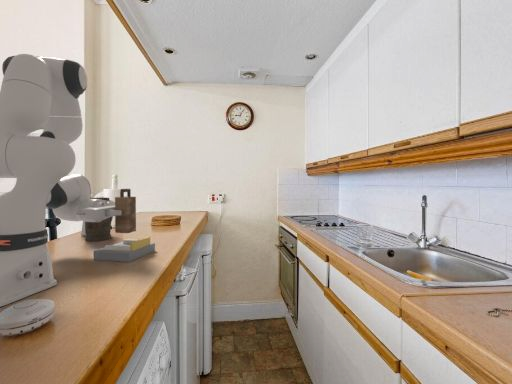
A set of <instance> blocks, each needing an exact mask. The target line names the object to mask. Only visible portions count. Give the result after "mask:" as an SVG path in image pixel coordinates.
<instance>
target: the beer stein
mask: <svg viewBox="0 0 512 384" xmlns="http://www.w3.org/2000/svg"><path fill="white" fill-rule="evenodd" d="M91 199H101V200H105V201H113V200H111V199H110V197H103V198H102V197H91ZM113 218H114V216H113V217H109V218H107V219H105V220H103V221H101V222H85V233H86V235H85V238H84V239H85V241H87V242H99V241H106V240H110V239H111V238H112V235H111V233H112V232H111V231H112V230H113V226H112V221H113Z"/></svg>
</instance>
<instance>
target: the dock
mask: <svg viewBox="0 0 512 384" xmlns="http://www.w3.org/2000/svg"><path fill="white" fill-rule="evenodd" d="M153 252H156V243H155V242H151V236H146V237H144V238H143V237H142V238H140V239H127V238H125V239H122V241H120V242H118V243H117V242H116V243H114V244H104V247H102V248H98V249H96V250H93V260H97V261H112V262H127V263H130V262H133V261H135V260H137V259H140V258H142V257H144V256H147V255H148V254H151V253H153Z"/></svg>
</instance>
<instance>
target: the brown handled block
mask: <svg viewBox="0 0 512 384" xmlns="http://www.w3.org/2000/svg"><path fill="white" fill-rule="evenodd" d="M131 191H132V190H131V188H121V189H120V192H119V195H120V196H114V202H115V210H123V215H115V216H114V218H115V220H114V221H115V223H114V225H115V227H114V228H115V230H114V232H115V234H129V233H133V232H136V231H137V208H136V207H137V203H136V202H137V197H136V196H131ZM125 193H126V194H127V196H124V194H125Z"/></svg>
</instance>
